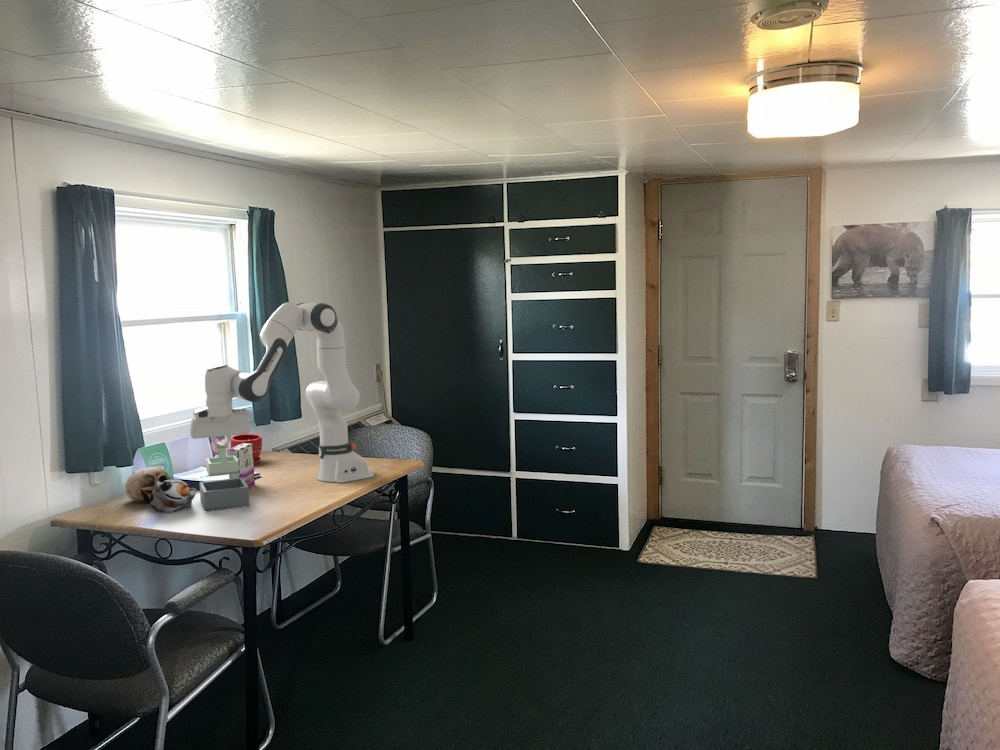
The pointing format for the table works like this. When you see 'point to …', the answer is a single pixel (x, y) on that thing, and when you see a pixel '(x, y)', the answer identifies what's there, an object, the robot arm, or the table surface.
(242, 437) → the plant pot
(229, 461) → the small crate
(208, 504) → the large crate
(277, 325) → the robot arm
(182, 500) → the lucky cat figurine
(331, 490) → the table surface
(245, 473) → the candy bar box
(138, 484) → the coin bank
